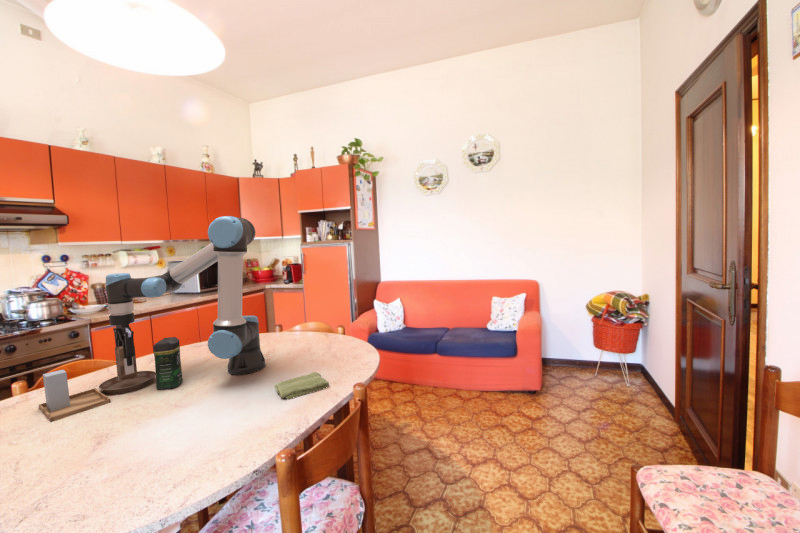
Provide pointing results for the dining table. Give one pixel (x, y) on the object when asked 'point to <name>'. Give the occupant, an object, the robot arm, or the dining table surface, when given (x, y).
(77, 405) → the parts tray
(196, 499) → the dining table surface
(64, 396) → the plain carton
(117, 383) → the plant saucer
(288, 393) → the washcloth
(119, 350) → the labelled carton
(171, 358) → the coffee jar
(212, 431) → the dining table surface
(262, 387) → the dining table surface
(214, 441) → the dining table surface
